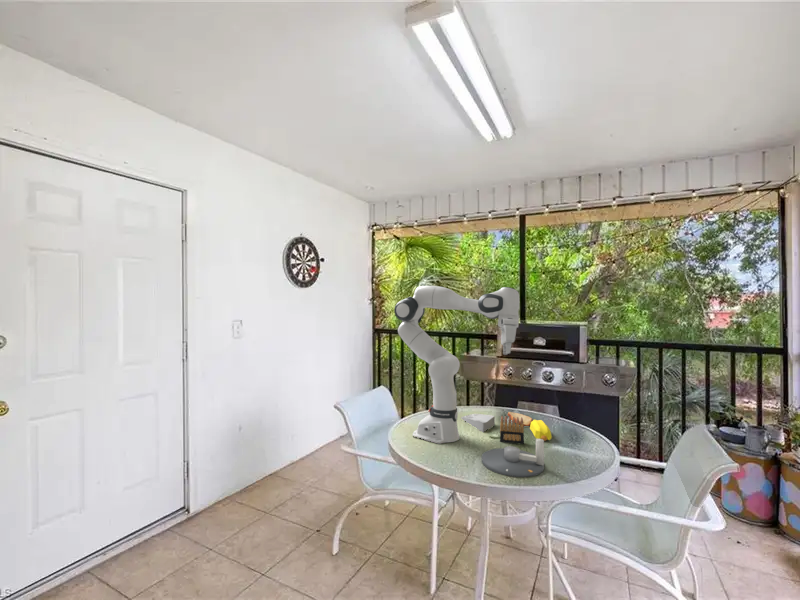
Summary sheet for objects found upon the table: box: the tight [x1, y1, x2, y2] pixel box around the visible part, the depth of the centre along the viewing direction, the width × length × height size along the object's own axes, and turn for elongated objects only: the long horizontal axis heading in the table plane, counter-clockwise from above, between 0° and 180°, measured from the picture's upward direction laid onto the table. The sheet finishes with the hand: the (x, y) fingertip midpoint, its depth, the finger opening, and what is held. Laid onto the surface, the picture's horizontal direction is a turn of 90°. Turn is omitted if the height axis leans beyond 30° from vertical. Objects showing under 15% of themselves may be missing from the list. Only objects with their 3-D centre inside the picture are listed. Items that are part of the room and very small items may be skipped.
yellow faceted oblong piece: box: [529, 419, 553, 442], centre depth 182 cm, size 18×7×8 cm
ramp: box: [460, 413, 496, 433], centre depth 201 cm, size 28×16×5 cm, turn 1°
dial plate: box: [481, 447, 545, 478], centre depth 150 cm, size 24×24×2 cm
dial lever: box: [504, 438, 545, 466], centre depth 148 cm, size 15×6×9 cm, turn 64°
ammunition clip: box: [499, 415, 525, 445], centre depth 174 cm, size 11×2×12 cm, turn 76°
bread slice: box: [507, 411, 534, 426], centre depth 206 cm, size 18×18×4 cm
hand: (506, 353), depth 166 cm, fingers open, 8 cm apart
